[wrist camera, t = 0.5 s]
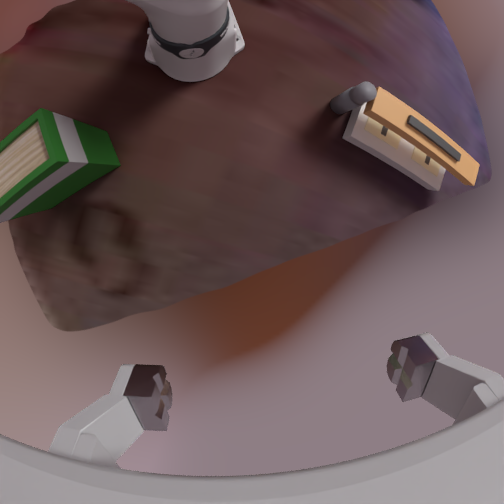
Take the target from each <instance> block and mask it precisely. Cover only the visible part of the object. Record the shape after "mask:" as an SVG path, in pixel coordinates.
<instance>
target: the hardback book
mask: <svg viewBox="0 0 504 504" xmlns="http://www.w3.org/2000/svg"><path fill="white" fill-rule="evenodd" d="M119 166H121V165H120V162H119V160H118V158H117V155H116V153H115V150H114V148H113V145H112V143H111V140H110V138H109V135H108V133H107V131H104V130H102V129H99V128H96V127H93V126H91V125H88V124H85V123H83V122H80V121H77V120H74V119H71V118H69V117H66V116H63V115H60V114H57V113H54V112H51V111H48V110H45V109H42V108H40V109H39V110H38V111H36V112H35V113H34V114H33V115H31V116H30V117H29V118H28V119H26V120H25V121H24V122H23V123H22V124H20V125H19V126H18V127H17V128H16V129H15V130H13V131H12V132H11V133H10V134H9V135H8V136H7V137H6V138H4V139H3V140H2V141H1V142H0V223H1V222H4V221H8V220H11V219H15V218H18V217H22V216H25V215H29V214H32V213H36V212H40V211H43V210H47V209H51V208H53V207H54V206H56V205H57V204H59V203H60V202H62V201H63V200H65V199H66V198H68V197H69V196H71V195H72V194H74V193H76V192H77V191H79V190H80V189H82V188H83V187H85V186H87V185H88V184H90V183H92V182H93V181H95V180H97V179H98V178H100V177H102V176H103V175H105V174H107V173H108V172H110V171H112V170H114V169H115V168H117V167H119Z"/></svg>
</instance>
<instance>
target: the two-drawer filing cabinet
mask: <svg viewBox="0 0 504 504" xmlns="http://www.w3.org/2000/svg"><path fill="white" fill-rule="evenodd" d="M352 88H354V87H352ZM352 88H350V89H348V90H346V91H345V92H343V93H341V94H340V95H338V96H336V97H335V98H333V99H332V100H331V102H330V106H331V109H332V110H333V112H335V113H336V114H343V113H346V112H348V111H350V110H352V113H351V116H350V119H349V121H348V124H347V127H346V130H345V132H344V135H343V139H344V140H346V141H348V142H350V143H352V144H354V145H356V146H357V147H359V148H361V149H363V150H365V151H366V152H368V153H370V154H372V155H373V156H375V157H377V158H379V159H380V160H382V161H384V162H385V163H387V164H389V165H390V166H392V167H394V168H395V169H397V170H399V171H400V172H402V173H403V174H405V175H406V176H408V177H410V178H411V179H413V180H414V181H416V182H417V183H419V184H420V185H422V186H423V187H425V188H426V189H428V190H434V191H439V189H440V186H441V183H442V180H443V176H444V173H445V168H443V167H442V166H441V165H440V164H438V163H437V162H436V161H434V160H433V159H432V158H430V157H429V156H428V155H426V154H425V153H423V152H422V151H421V150H419V149H418V148H416V147H415V146H414V145H412V144H411V143H409V142H408V141H406V140H405V139H403V138H402V137H400V136H399V135H397V134H396V133H394V132H393V131H391V130H389V129H388V128H386V127H385V126H383V125H381V124H380V123H378V122H377V121H375V120H373V119H372V118H370V117H368V116H367V115H365V114H363V112H364V109H365V106H366V103H367V102H366V103H364V104H361V105H357V104H355V103H353V102H352V101H351V99H350V97H349V92H350V90H351V89H352Z"/></svg>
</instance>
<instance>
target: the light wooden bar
mask: <svg viewBox="0 0 504 504" xmlns="http://www.w3.org/2000/svg"><path fill="white" fill-rule="evenodd" d="M349 97H350V99H351V101H352V102H353V103H355V104H357V105H361V104H364V103H366V102H367V103H366V106H365V109H364V112H363V114H365V115H367V116H368V117H370V118H372V119H373V120H375V121H377V122H378V123H380V124H381V125H383V126H385V127H386V128H388V129H389V130H391V131H393V132H394V133H396V134H397V135H399V136H400V137H402V138H403V139H405V140H406V141H408V142H409V143H411V144H412V145H414V146H415V147H416V148H418V149H419V150H421V151H422V152H423V153H425V154H426V155H428V156H429V157H430V158H432V159H433V160H434V161H436V162H437V163H438V164H440V165H441V166H442V167H443V168H445V169H446V170H447V171H449V172H450V173H451V174H452V175H454V176H455V177H456V178H457V179H458V180H460V181H461V182H462V183H463V184H464V185H472V186H474V184H475V181H476V177H477V173H478V169H479V164H478V163H477V162H476V161H475V160H474V159H473V158H472V157H471V156H470V155H469V154H468V153H467V152H465V151H464V150H463V149H462V148H461V147H460V146H459V145H458V144H456V143H455V142H454V141H453V140H452V139H451V138H449V137H448V136H447V135H446V134H445V133H443V132H442V131H441V130H440V129H438V128H437V127H436V126H435V125H433V124H432V123H431V122H430V121H428V120H427V119H426V118H424V117H423V116H422V115H420V114H419V113H418V112H416V111H415V110H413V109H412V108H411V107H409V106H408V105H406V104H405V103H404V102H402V101H401V100H399V99H398V98H396V97H395V96H393V95H392V94H390V93H389V92H387V91H386V90H384V89H382V88H381V87H377V88H375V87H374V85H373V84H371V83H370V82H363V83H361V84H359V85H357V86H355V87H354V88H352V89H351V90H350V92H349Z"/></svg>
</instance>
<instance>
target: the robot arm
mask: <svg viewBox="0 0 504 504" xmlns="http://www.w3.org/2000/svg"><path fill="white" fill-rule="evenodd" d="M126 1H128V2H131V3H133V4H135V5H137V6H139V7H140V8H142V9H143V10H144V12H145V13H146V15H147V16H148V18H149V24H150V28H148V30H147V34H148V35H149V38H148V40H147V47H146V51H145V59H146V60H147V61H148V62H150V63H152V64H155V65H157V66H159V67H160V68H161V69H162V70H163V71H164V72H165V73H166V74H167V75H168V76H170V77H172V78H174V79H176V80H180V81H185V82H196V81H201V80H205V79H208V78H210V77H212V76H214V75H216V74H218V73H219V72H220V71H221V70H223V69H224V68H225V66H226V65H227V64H228V62H229V61H230V59H231V58H232V57H233V56H234V55H235V54H237V53H239V52H240V51H241V50H243V49H244V46H245V44H244V40H243V37H242V35H241V32H240V29H239V27H238V24H237V21H236V19H235V16H234V14H233V11H232V8H231V6H230V3H229V1H228V0H126ZM236 39H238V41H236ZM391 351H392V352H393V354H392V355H391V356H390V357H389V359H388V362H387V373H388V376H389V379H390V380H391V382H392V383H394V384H396V385H397V388H396V391H397V393H398V395H399V396H400V398H401V400H402V402H404V401H408V400H412V399H415V398H418V397H422V398H423V399H425V400H426V401H428V402H429V403H431V404H432V405H434V406H435V407H437V408H439V409H440V410H441V411H443V412H445V413H446V414H448V415H449V416H451V417H453V418H454V419H456V420H455V422H454V423H453V425H452V426H450V427H447V428H445V429H443V430H441V431H438V432H436V433H434V434H431V435H428V436H426V437H423V438H421V439H418V440H415V441H413V442H410V443H407V444H404V445H401V446H398V447H395V448H392V449H389V450H386V451H382V452H379V453H375V454H372V455H368V456H365V457H361V458H357V459H353V460H349V461H344V462H340V463H336V464H330V465H326V466H320V467H314V468H308V469H302V470H296V471H288V472H280V473H270V474H259V475H244V476H182V475H168V474H156V473H146V472H139V471H131V470H124V469H121V468H120V467H119V466H118V465H117V463H116V460H118V458H119V457H120V456H121V455H122V454H123V453H124V452H125V451H126V450H127V449H128V448H129V447H130V446H131V445H132V444H133V443H134V442H135V440H136V439H137V438H138V437H139V436H140V435H141V434H142V433H143V432H144V430H155V431H167V426H168V421H169V414H168V412H167V410H169V409H170V408H171V406H172V389H171V386H170V382H168V381H167V380H166V379H165V378H166V374H167V373H166V371H165V368H164V366H162V365H138V364H136V365H133V364H123V365H122V366H121V367H120V369H119V371H118V373H117V376H116V378H115V381H114V383H113V385H112V388H111V390H110V392H109V395H104V396H102V397H101V398H100V399H98V400H97V401H95V402H94V403H92V404H91V405H90V406H88V407H87V408H85V409H84V410H82V411H81V412H80V413H78V414H77V415H75V416H74V417H72V418H71V419H70V420H68V421H67V422H65V423H64V424H62V425H61V426H59V428H58V430H57V433H56V435H55V437H54V439H53V441H52V444H51V446H50V448H49V450H48V452H47V451H44V450H41V449H38V448H35V447H32V446H29V445H26V444H24V443H21V442H18V441H16V440H13V439H10V438H8V437H5V436H3V435H1V434H0V504H504V379H503V378H502V376H501V375H500V374H499V373H496V372H494V371H491V370H489V369H486V368H483V367H481V366H478V365H476V364H473V363H471V362H468V361H466V360H463V359H461V358H458V357H456V356H453V355H452V356H449V355H448V353H447V352H446V351H445V350H444V349H443V348H442V346H441V345H440V344H439V343H438V342H437V341H436V340H435V338H434V337H433V336H432V335H431V334H430V333H423V334H420V335H417V336H412V337H408V338H404V339H400V340H395V341H394V342H393V344H392V346H391Z"/></svg>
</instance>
